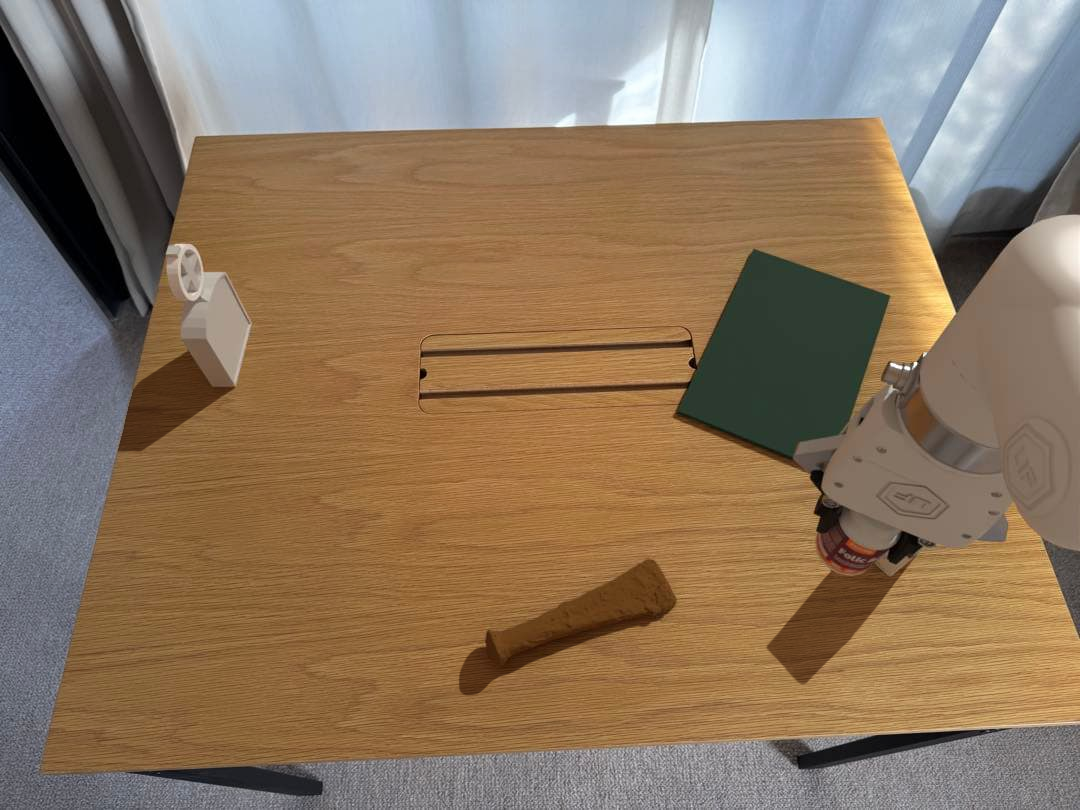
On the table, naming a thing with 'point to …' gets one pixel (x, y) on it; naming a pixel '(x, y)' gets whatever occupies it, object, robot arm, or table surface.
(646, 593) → the primitive tool
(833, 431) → the mat
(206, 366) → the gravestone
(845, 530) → the pill bottle
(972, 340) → the robot arm
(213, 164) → the table surface
